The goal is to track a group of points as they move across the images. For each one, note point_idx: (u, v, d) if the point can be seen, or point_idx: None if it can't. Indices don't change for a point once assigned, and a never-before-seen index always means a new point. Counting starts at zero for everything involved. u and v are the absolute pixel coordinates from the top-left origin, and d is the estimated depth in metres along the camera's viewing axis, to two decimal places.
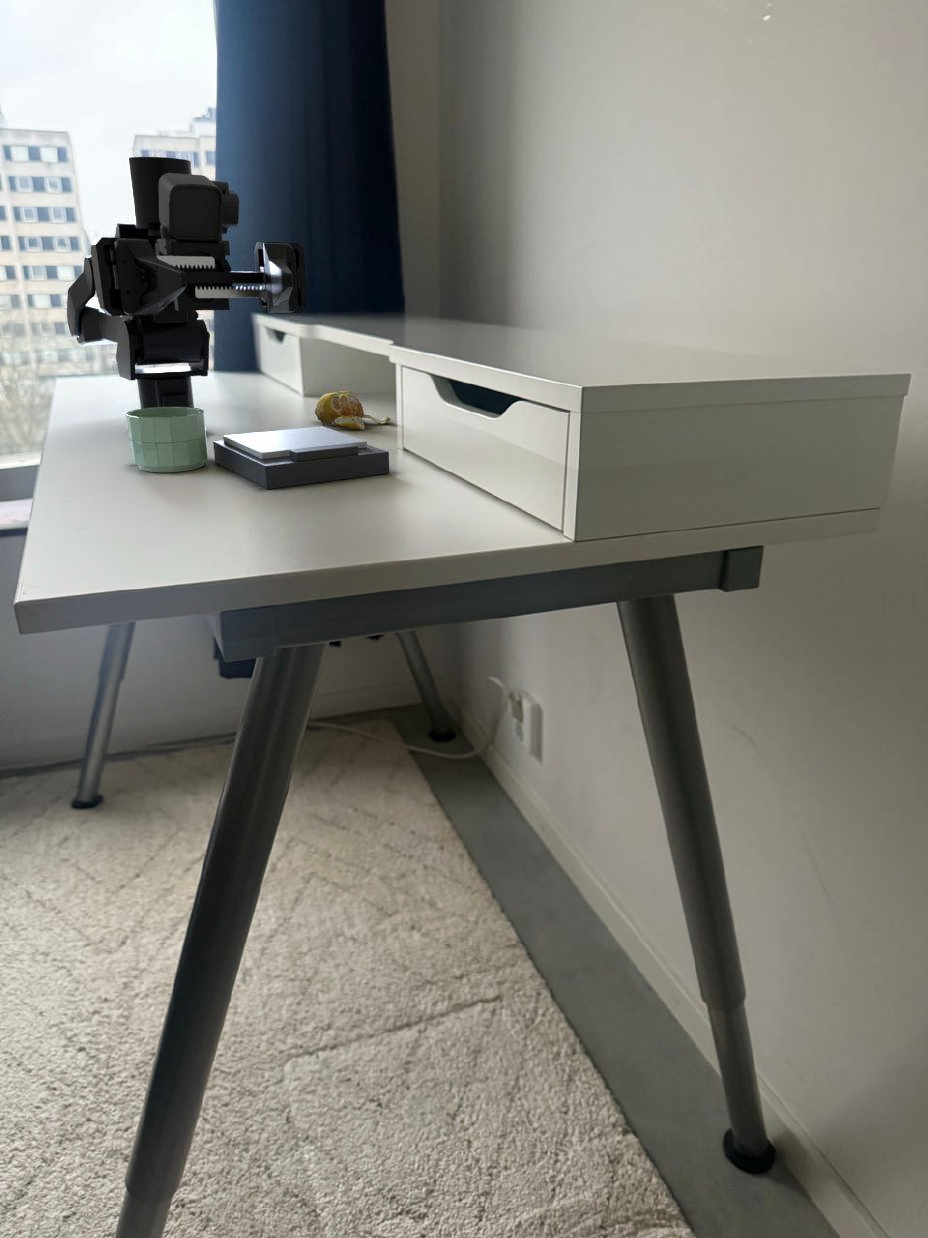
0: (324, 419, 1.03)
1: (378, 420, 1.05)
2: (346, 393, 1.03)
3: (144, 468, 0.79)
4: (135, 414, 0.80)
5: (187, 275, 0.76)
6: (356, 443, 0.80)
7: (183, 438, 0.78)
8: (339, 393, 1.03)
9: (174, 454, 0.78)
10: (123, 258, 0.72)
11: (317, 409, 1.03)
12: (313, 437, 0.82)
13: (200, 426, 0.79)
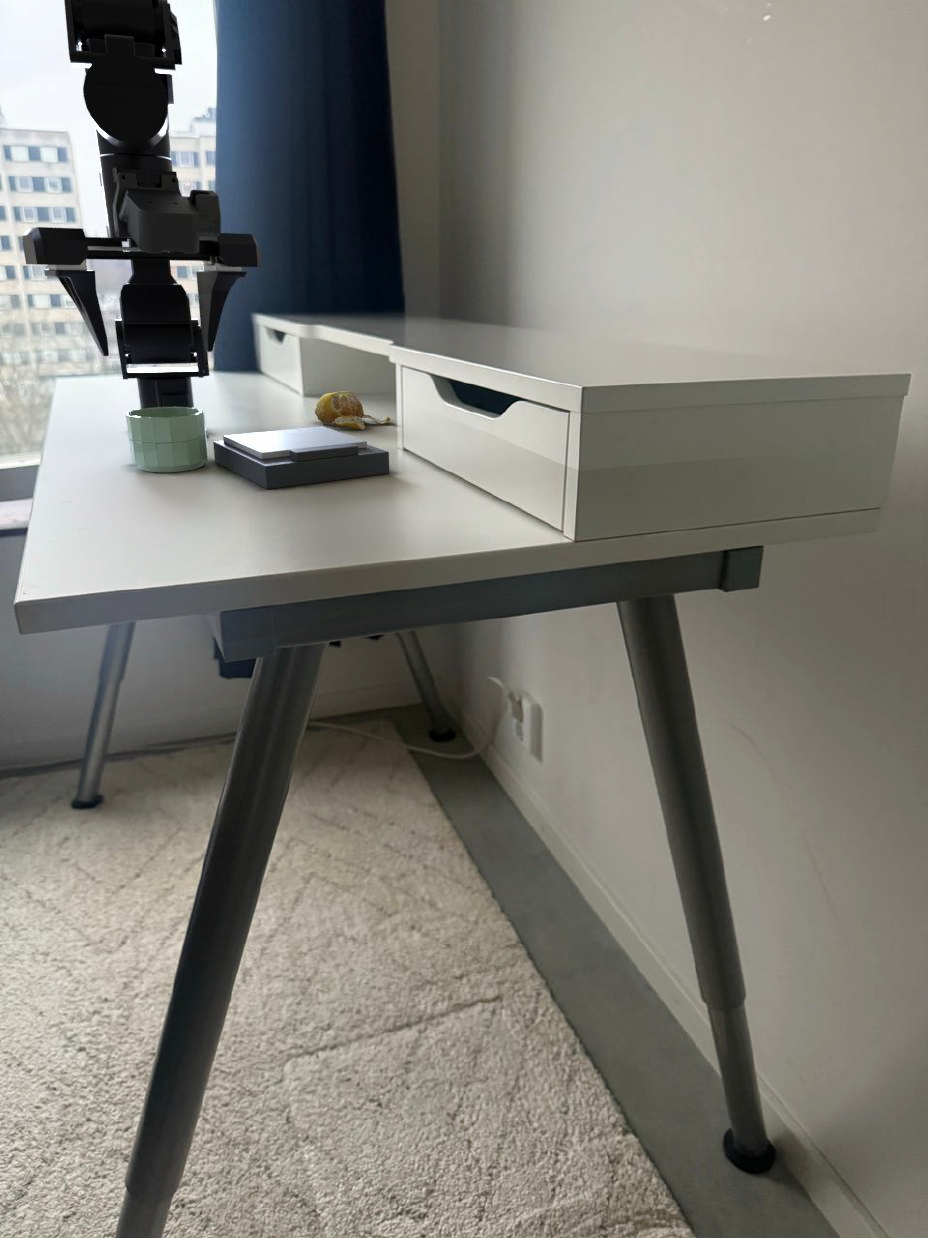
0: (324, 419, 1.03)
1: (378, 420, 1.05)
2: (346, 393, 1.03)
3: (144, 468, 0.79)
4: (135, 414, 0.80)
5: (126, 259, 0.74)
6: (356, 443, 0.80)
7: (183, 438, 0.78)
8: (339, 393, 1.03)
9: (174, 454, 0.78)
10: None
11: (317, 409, 1.03)
12: (313, 437, 0.82)
13: (200, 426, 0.79)
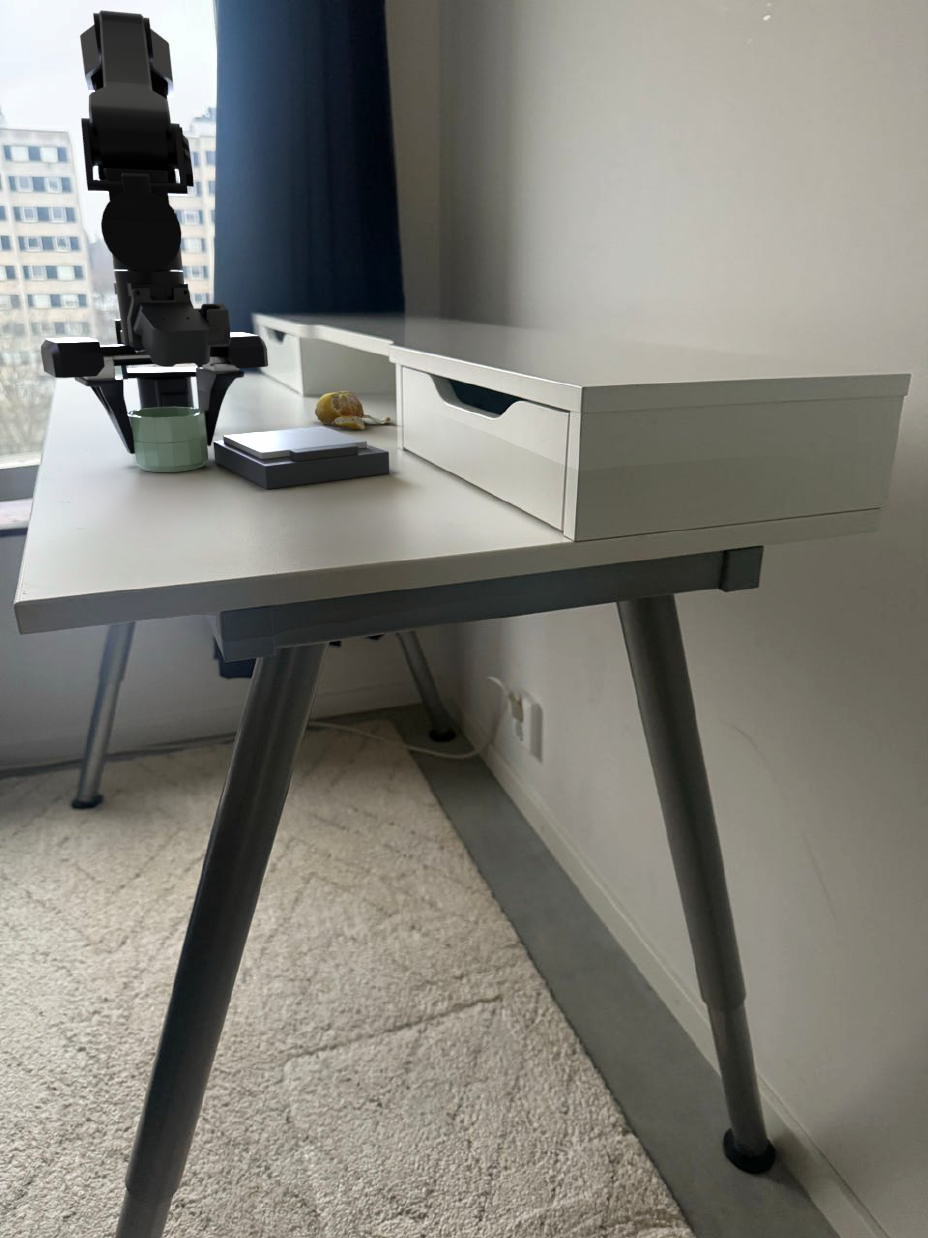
0: (324, 419, 1.03)
1: (378, 420, 1.05)
2: (346, 393, 1.03)
3: (145, 468, 0.79)
4: (136, 414, 0.80)
5: (139, 364, 0.77)
6: (356, 443, 0.80)
7: (184, 438, 0.78)
8: (339, 393, 1.03)
9: (175, 454, 0.78)
10: None
11: (317, 409, 1.03)
12: (313, 437, 0.82)
13: (201, 426, 0.79)
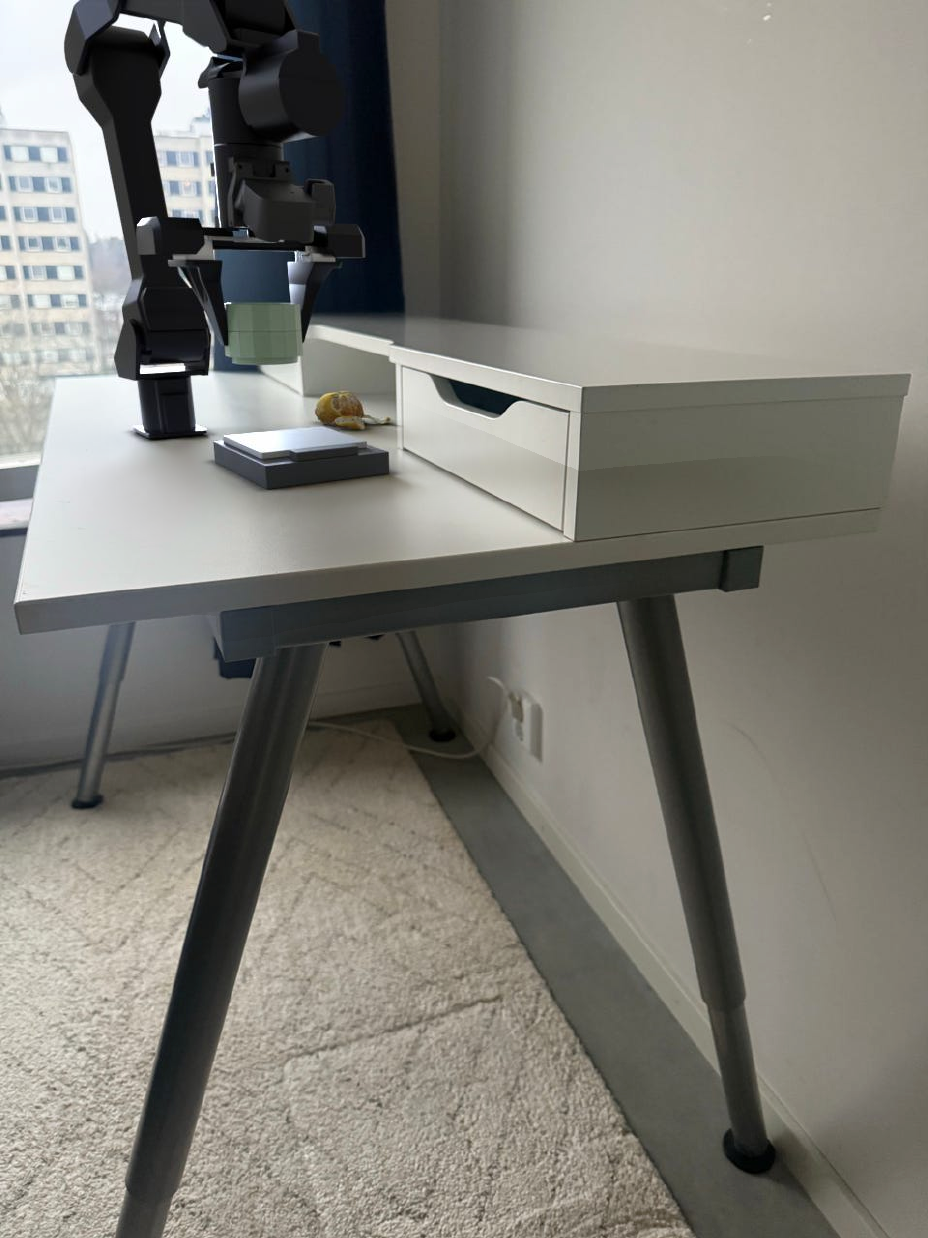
0: (324, 419, 1.03)
1: (378, 420, 1.05)
2: (346, 393, 1.03)
3: (238, 361, 0.76)
4: None
5: None
6: (356, 443, 0.80)
7: (281, 328, 0.74)
8: (339, 393, 1.03)
9: (271, 344, 0.74)
10: (189, 266, 0.71)
11: (317, 409, 1.03)
12: (313, 437, 0.82)
13: (297, 318, 0.76)
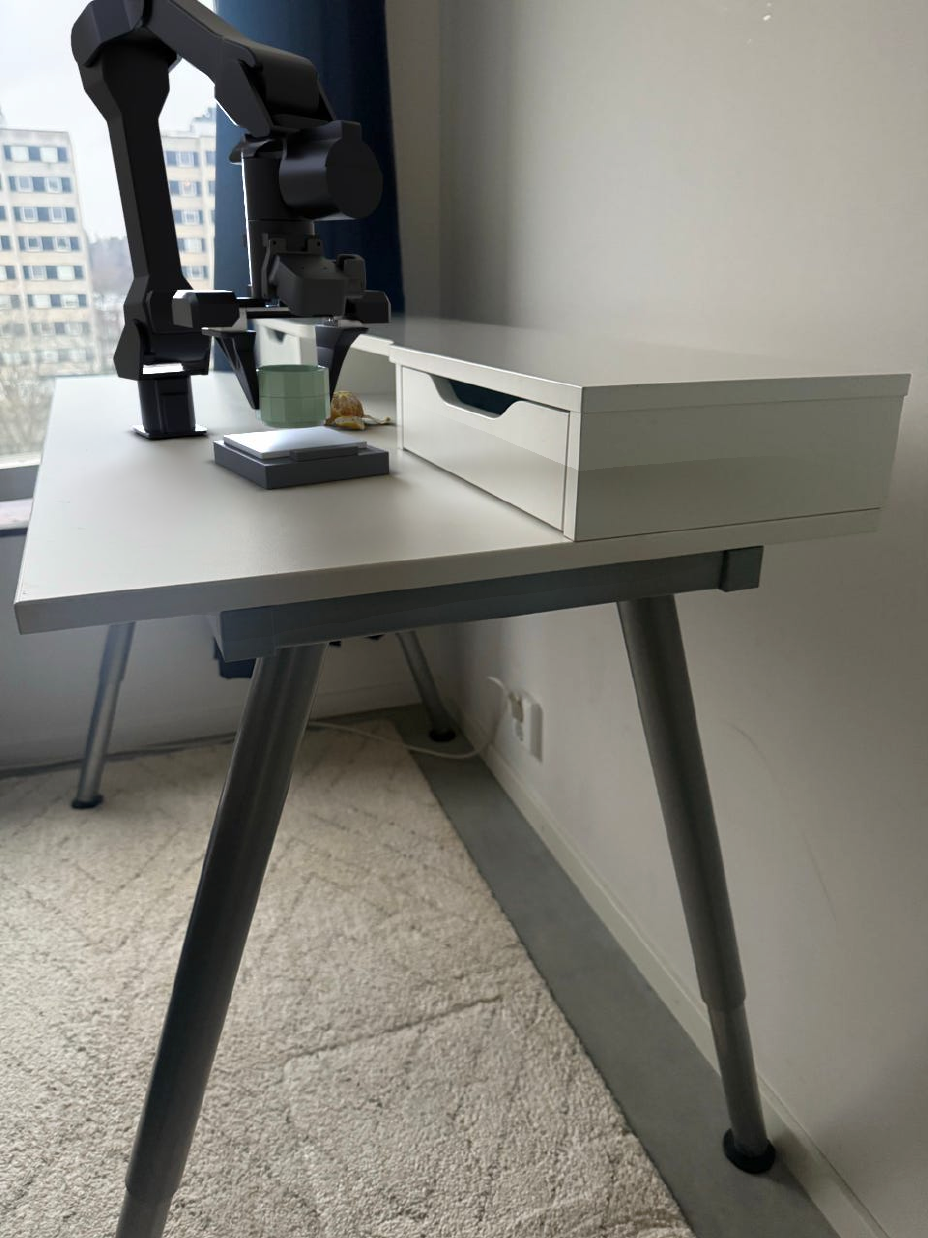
0: None
1: (378, 420, 1.05)
2: (346, 393, 1.03)
3: (269, 424, 0.78)
4: None
5: (267, 318, 0.76)
6: (356, 443, 0.80)
7: (311, 393, 0.77)
8: (339, 393, 1.03)
9: (302, 409, 0.77)
10: None
11: None
12: (313, 437, 0.82)
13: (326, 382, 0.78)
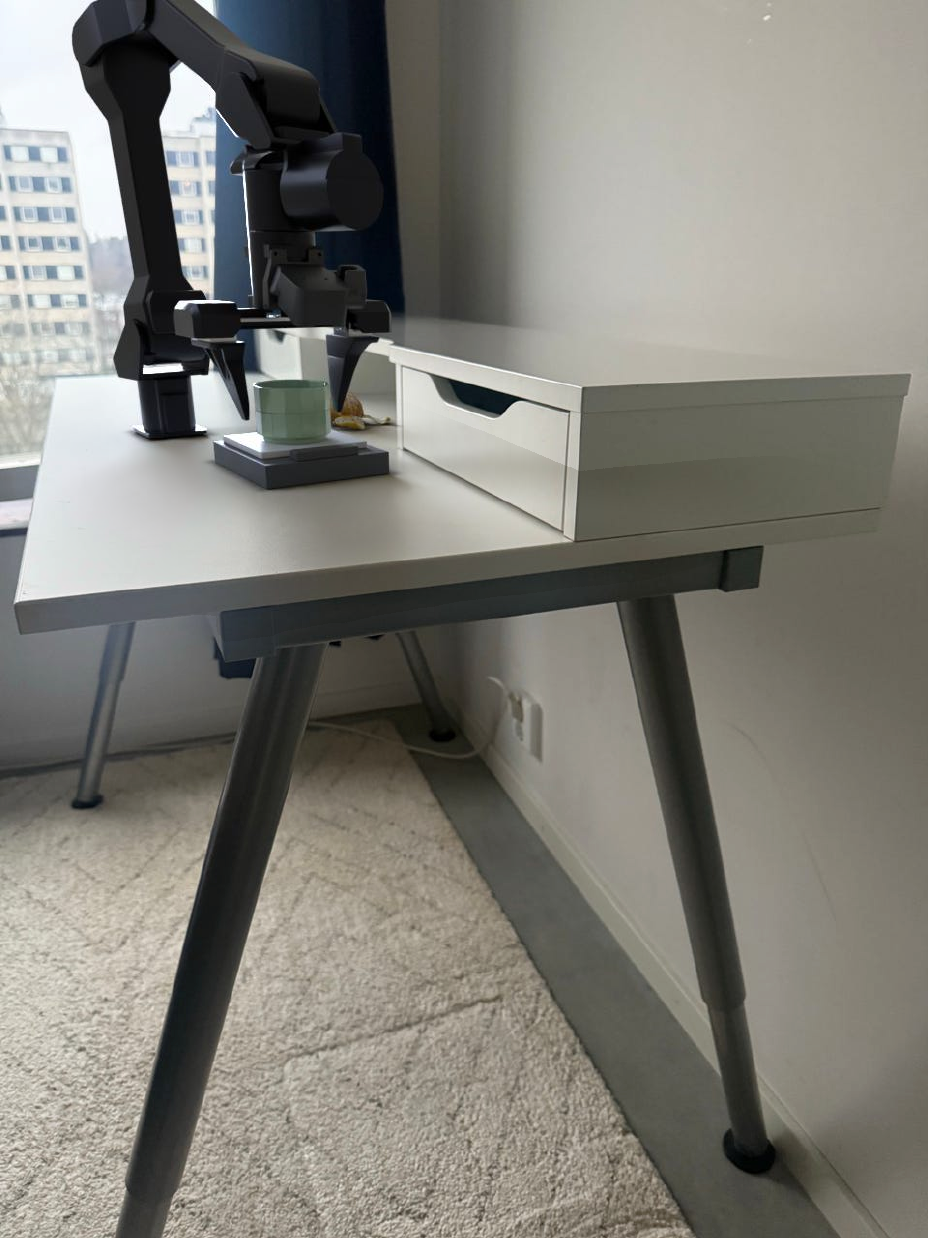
0: None
1: (378, 420, 1.05)
2: None
3: (270, 440, 0.79)
4: None
5: (269, 328, 0.76)
6: (356, 443, 0.80)
7: (312, 409, 0.77)
8: None
9: (303, 425, 0.77)
10: None
11: None
12: None
13: (327, 398, 0.79)
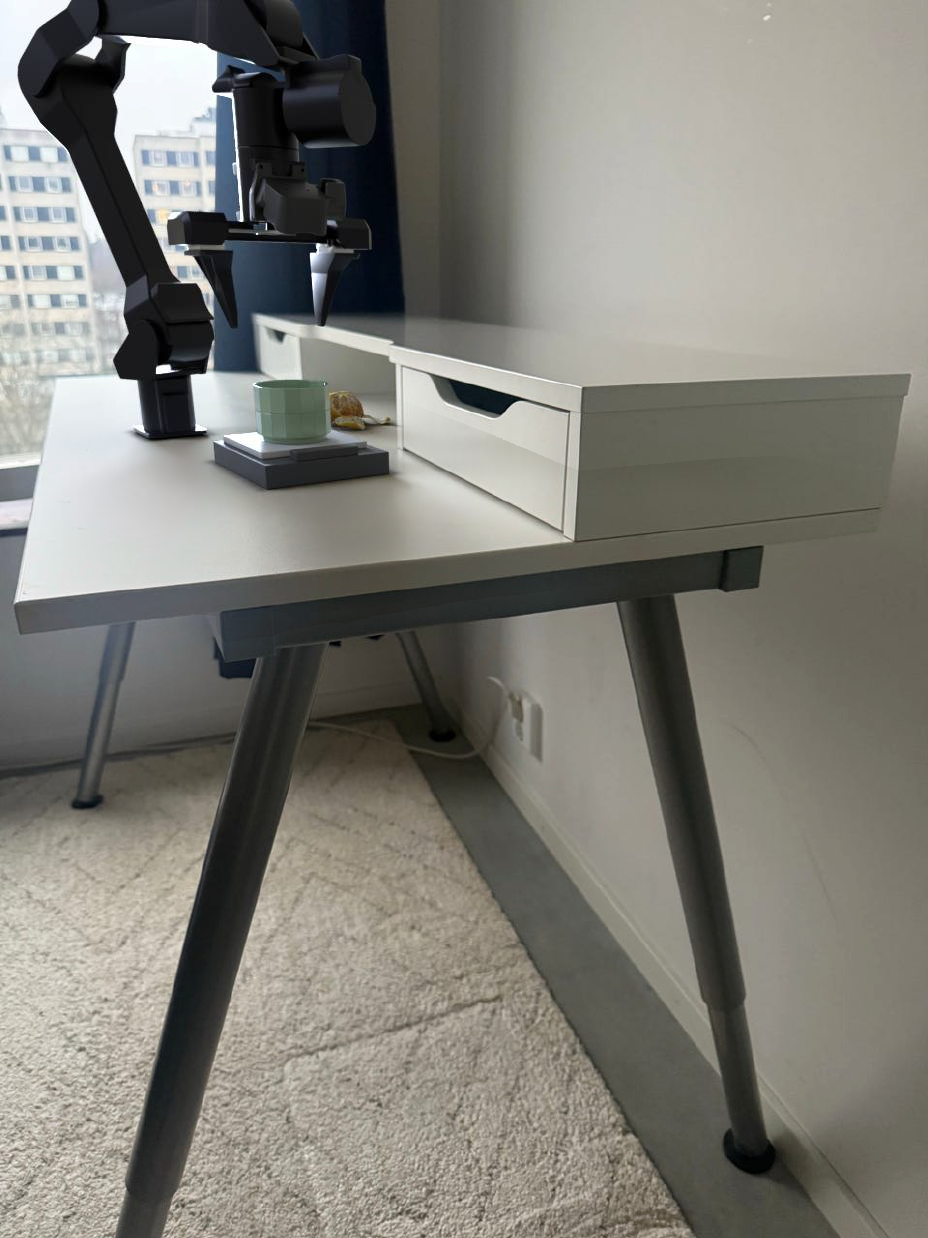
0: None
1: (378, 420, 1.05)
2: (346, 393, 1.03)
3: (270, 440, 0.79)
4: None
5: (256, 241, 0.82)
6: (356, 443, 0.80)
7: (312, 409, 0.77)
8: (339, 393, 1.03)
9: (303, 425, 0.77)
10: None
11: None
12: None
13: (327, 398, 0.79)
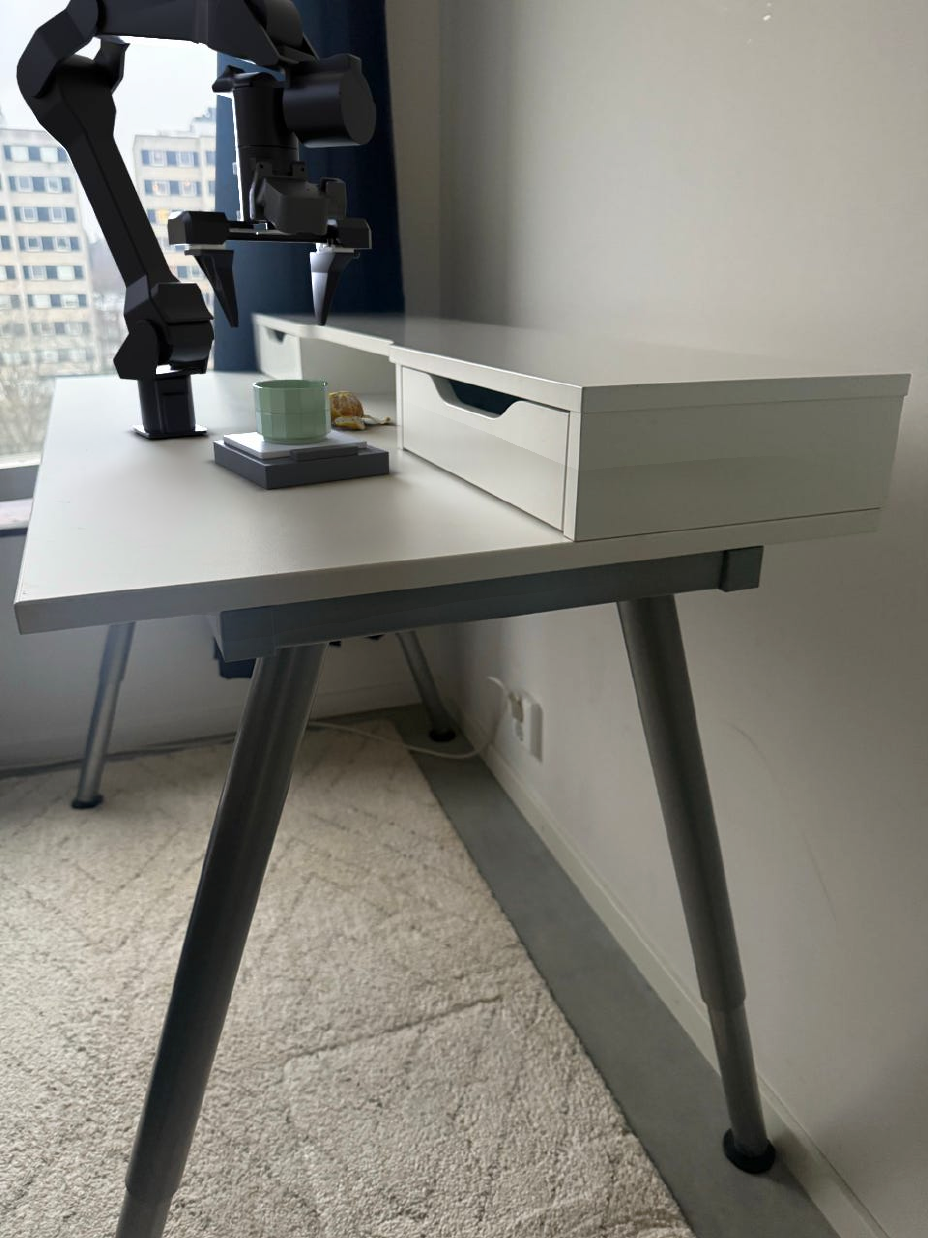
0: None
1: (378, 420, 1.05)
2: (346, 393, 1.03)
3: (270, 440, 0.79)
4: None
5: None
6: (356, 443, 0.80)
7: (312, 409, 0.77)
8: (339, 393, 1.03)
9: (303, 425, 0.77)
10: (204, 255, 0.78)
11: None
12: None
13: (327, 398, 0.79)
